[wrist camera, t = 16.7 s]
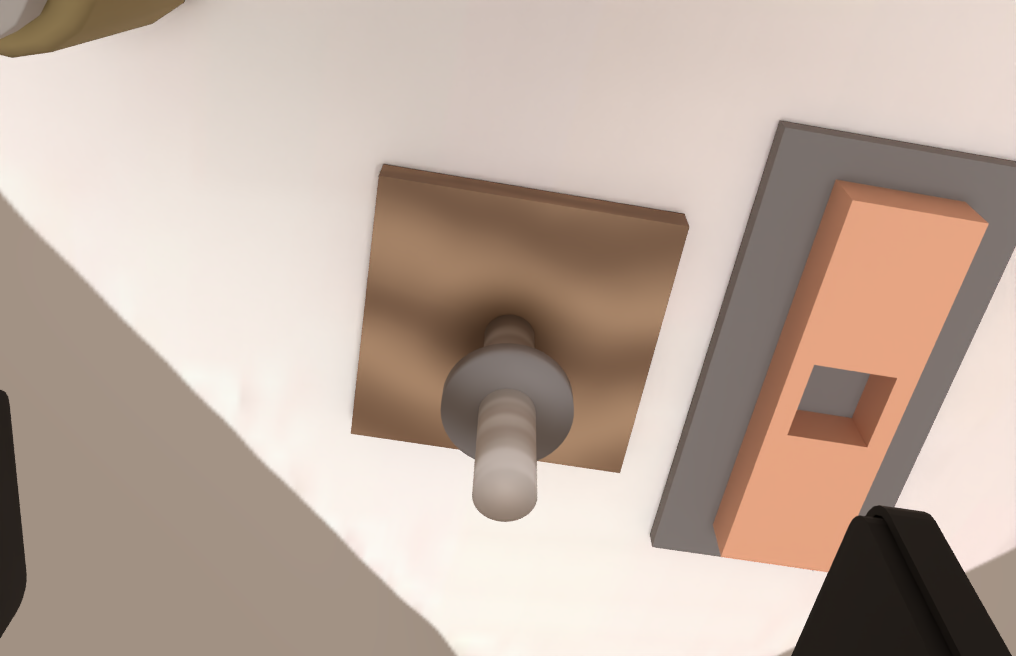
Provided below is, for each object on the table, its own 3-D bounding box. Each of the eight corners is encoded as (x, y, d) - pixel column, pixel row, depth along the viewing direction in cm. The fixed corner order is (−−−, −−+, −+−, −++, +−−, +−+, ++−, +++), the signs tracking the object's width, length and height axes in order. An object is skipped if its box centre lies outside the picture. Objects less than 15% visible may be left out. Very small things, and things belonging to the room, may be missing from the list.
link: (835, 179, 42) (852, 200, 40) (965, 202, 43) (988, 223, 41) (712, 524, 52) (720, 556, 50) (819, 540, 52) (832, 572, 50)
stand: (383, 164, 43) (330, 301, 32) (684, 214, 44) (742, 365, 33) (355, 416, 50) (302, 607, 38) (617, 455, 51) (645, 653, 39)
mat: (779, 120, 42) (785, 127, 41) (1038, 165, 43) (1049, 173, 42) (650, 534, 54) (652, 547, 53) (856, 564, 54) (861, 576, 54)
